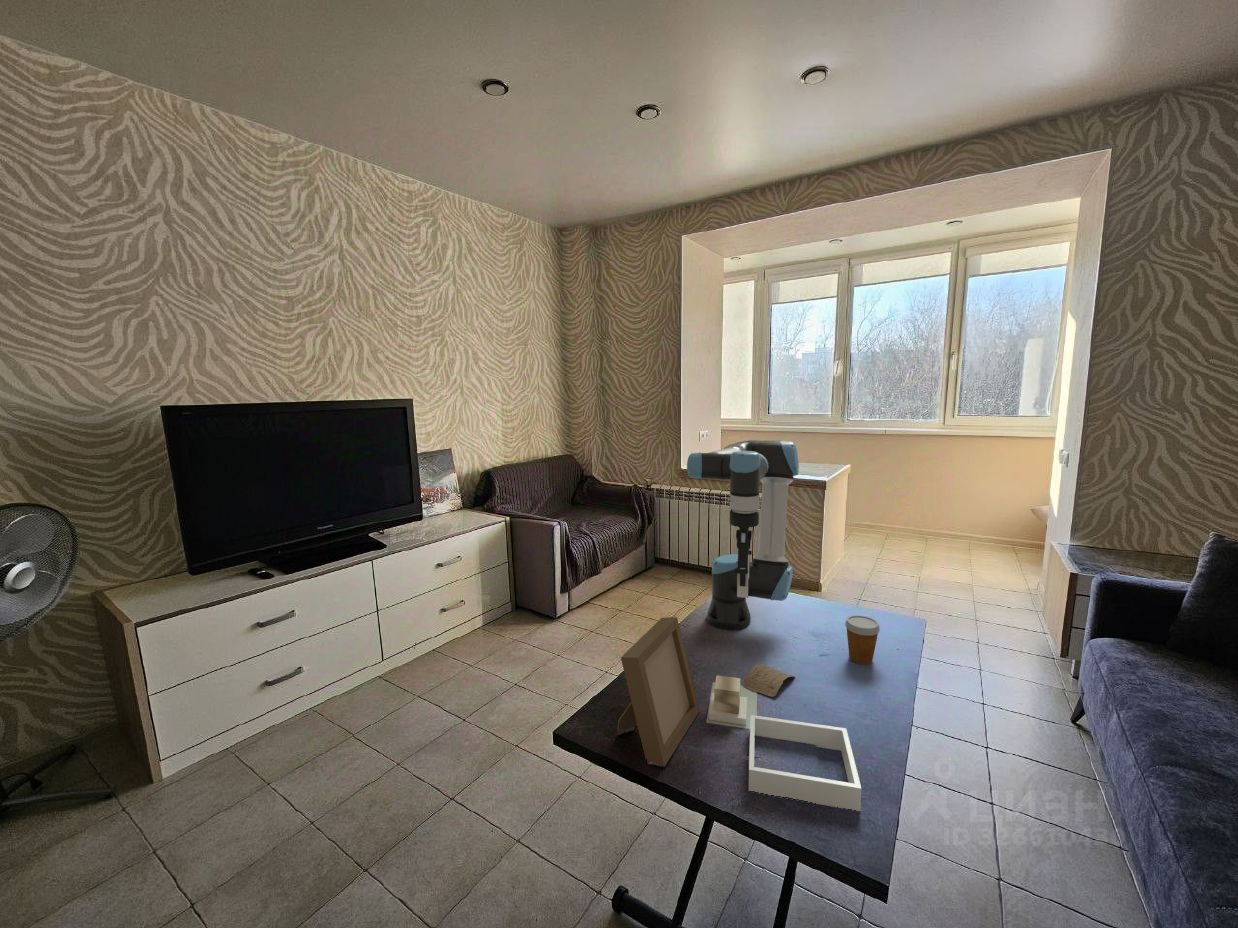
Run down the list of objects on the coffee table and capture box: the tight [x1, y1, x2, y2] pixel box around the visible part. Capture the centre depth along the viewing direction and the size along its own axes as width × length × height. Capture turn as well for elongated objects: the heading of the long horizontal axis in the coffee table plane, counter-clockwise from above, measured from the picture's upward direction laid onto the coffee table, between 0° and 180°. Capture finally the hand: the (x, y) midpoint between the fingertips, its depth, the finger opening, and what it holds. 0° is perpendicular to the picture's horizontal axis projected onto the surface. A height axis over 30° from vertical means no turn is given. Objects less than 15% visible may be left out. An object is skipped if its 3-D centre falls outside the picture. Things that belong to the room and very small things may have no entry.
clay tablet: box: [742, 663, 794, 697], centre depth 142 cm, size 14×10×3 cm
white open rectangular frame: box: [748, 715, 862, 812], centre depth 109 cm, size 18×21×5 cm
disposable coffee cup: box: [844, 614, 881, 666], centre depth 152 cm, size 10×10×12 cm
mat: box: [705, 681, 758, 730], centre depth 132 cm, size 18×12×1 cm, turn 165°
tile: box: [708, 693, 747, 725], centre depth 129 cm, size 2×9×9 cm
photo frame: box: [617, 616, 700, 768], centre depth 121 cm, size 15×22×25 cm
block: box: [714, 674, 741, 714], centre depth 128 cm, size 6×6×6 cm
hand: (743, 586), depth 137 cm, fingers open, 13 cm apart
